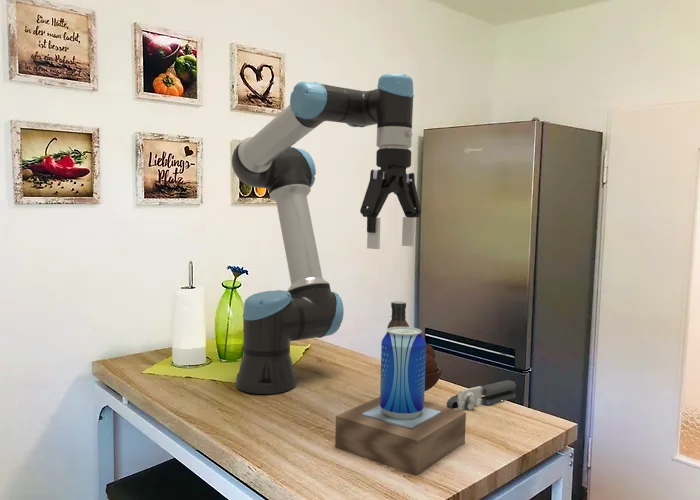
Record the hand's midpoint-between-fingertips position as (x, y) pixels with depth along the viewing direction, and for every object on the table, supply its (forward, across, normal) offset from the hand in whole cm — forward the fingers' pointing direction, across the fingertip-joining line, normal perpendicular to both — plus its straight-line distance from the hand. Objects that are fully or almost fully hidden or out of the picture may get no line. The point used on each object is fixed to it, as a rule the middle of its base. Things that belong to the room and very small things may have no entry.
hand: (391, 247), depth 126 cm
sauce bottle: (+37, +26, +14) cm, 47 cm away
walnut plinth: (+37, -13, -12) cm, 41 cm away
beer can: (+31, -13, -12) cm, 35 cm away
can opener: (+37, +19, -14) cm, 44 cm away
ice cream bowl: (+37, +6, -4) cm, 38 cm away
